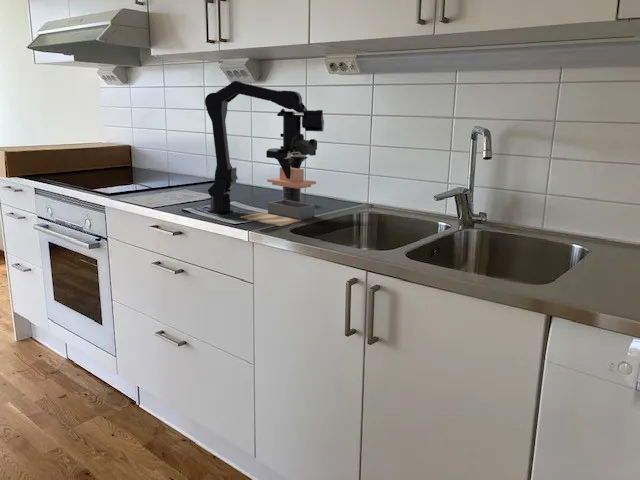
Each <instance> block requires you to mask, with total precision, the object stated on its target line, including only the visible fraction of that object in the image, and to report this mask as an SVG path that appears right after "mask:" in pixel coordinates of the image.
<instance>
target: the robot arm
mask: <svg viewBox="0 0 640 480" xmlns="http://www.w3.org/2000/svg"><path fill="white" fill-rule="evenodd" d="M239 95H243V96H248V97H252V98H256V99H260V100H265V101H268V102H272V103H274V104H276V105H278V106H280V107H283V108H281V110H280V111H279V112H278V113H277V114H276V116H277V117H282V118H283V119H282V120H283V121H282V129H283V130H282V133H280V137H281V138H282V144H283V145H282V146H280V148H275V147H274V148H268V149H267V150H266V158H268V159H275V160H277V162H278V164H279V166H281V167H280V168H282V169H283V172H284V174H285V176H286V178H287V179H290V172H291V168H298V169H301V166H302V163H303V162H304V161H305V160H306V159H308V158H309V157H308V155H309V156H310V157H311V156H317V155H316V154H317V153H316V151H317V150H318V140H317V139H315V138H311V139H310V140H308V139H307V140H306V139H305V135H304V133H301V131H302V130H301V128H302V129H305V132H324V129H325V128H324V127H325V126H324V125H325V120H324V110H323V109H317V110H311V109H310V110H309V109H307V106H306V105H304V103H303V98H302V95H301V94H300V92H298V91H293V90H278V89H277V90H275V89H271V88H266V87H262V86H257V85H254V84H251V83H244V82H242V81H240V80H234V81H233V80H232V81H231V82H230V83H229V84H227V85H226V86H224V87H223V88H221V89H219V90H218V91H216V92H210V93H208V94H207V95H206V97H205V99H204V105H205V108H206V111H207V114H208V116H209V118H210V120H211V125H212V135H213V141H214V142H213V143H214V150H215V160H216V166H215V167H216V168H215V172H214V183H213V184H212V185H211V186H210V187H209V188H208V189H207V192H208V194H209V196H210V209H207V212H208V213H212V214H213V213H214V214H217V215H221V214H222V215H223V214H227V213H232V212H234V209H231V199H230V197H231V195H230V194H229V193H231V190H232V189H233V188H234V187H235V186H236V184H237V180H238V179H239V178H238V175H237V169H238V168H237V167H233V166H232V164H231V159H230V151H229V143H228V134H227V123H226V119H227V114H228V106H229V105H228V104H229V103H230V102H232V101H233V100H234V99H235V98H236V97H238V96H239ZM285 109H286V110H285ZM287 110H288V111H287ZM291 110H292V111H291ZM296 113H298V114H296Z"/></svg>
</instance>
